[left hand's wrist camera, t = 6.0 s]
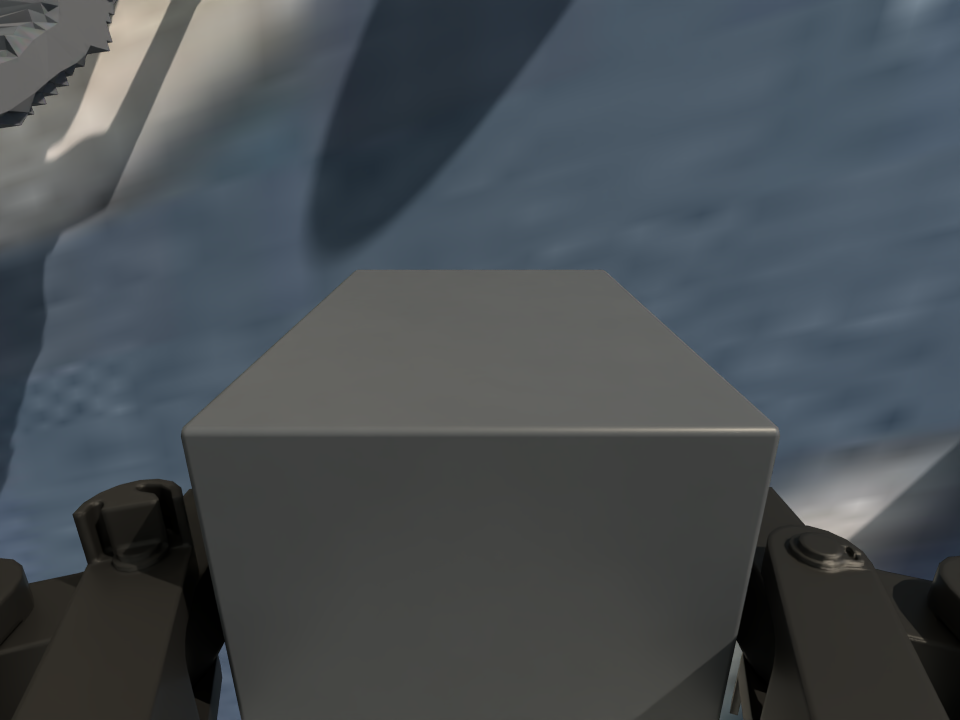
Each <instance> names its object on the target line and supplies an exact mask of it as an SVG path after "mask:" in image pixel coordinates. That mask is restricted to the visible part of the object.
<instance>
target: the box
mask: <svg viewBox="0 0 960 720" xmlns="http://www.w3.org/2000/svg"><path fill="white" fill-rule="evenodd" d="M779 438H780V434H779V429H778V427H777V426H776V425H775V424H774V423H773V422H771V421H770V420H769V419H768V418H767V417H766V416H765V415H764V414H763V413H761V412H760V411H759V410H758V409H757V408H756V407H755V406H754V405H753V404H752V403H750V402H749V401H748V400H747V399H746V398H745V397H744V396H743V395H742V394H740V393H739V392H738V391H737V390H736V389H735V388H734V387H733V386H732V385H731V384H729V383H728V382H727V381H726V380H725V379H724V378H723V377H722V376H721V375H719V374H718V373H717V372H716V371H715V370H714V369H713V368H712V367H711V366H710V365H708V364H707V363H706V362H705V361H704V360H703V359H702V358H701V357H700V356H698V355H697V354H696V353H695V352H694V351H693V350H692V349H691V348H690V347H689V346H687V345H686V344H685V343H684V342H683V341H682V340H681V339H680V338H679V337H677V336H676V335H675V334H674V333H673V332H672V331H671V330H670V329H669V328H668V327H666V326H665V325H664V324H663V323H662V322H661V321H660V320H659V319H658V318H657V317H655V316H654V315H653V314H652V313H651V312H650V311H649V310H648V309H647V308H645V307H644V306H643V305H642V304H641V303H640V302H639V301H638V300H637V299H636V298H634V297H633V296H632V295H631V294H630V293H629V292H628V291H627V290H626V289H624V288H623V287H622V286H621V285H620V284H619V283H618V282H617V281H616V280H615V279H613V278H612V277H611V276H610V275H609V274H608V273H607V272H606V271H604V270H356V271H355V272H353V273H352V274H351V275H350V276H349V277H348V278H347V279H346V280H345V281H344V282H342V283H341V284H340V285H339V286H338V287H337V288H336V289H335V290H334V291H333V292H331V293H330V294H329V295H328V296H327V297H326V298H325V299H324V300H323V301H322V302H320V303H319V304H318V305H317V306H316V307H315V308H314V309H313V310H312V311H311V312H309V313H308V314H307V315H306V316H305V317H304V318H303V319H302V320H301V321H300V322H298V323H297V324H296V325H295V326H294V327H293V328H292V329H291V330H290V331H289V332H287V333H286V334H285V335H284V336H283V337H282V338H281V339H280V340H279V341H277V342H276V343H275V344H274V345H273V346H272V347H271V348H270V349H269V350H268V351H266V352H265V353H264V354H263V355H262V356H261V357H260V358H259V359H258V360H257V361H255V362H254V363H253V364H252V365H251V366H250V367H249V368H248V369H247V370H246V371H244V372H243V373H242V374H241V375H240V376H239V377H238V378H237V379H236V380H235V381H233V382H232V383H231V384H230V385H229V386H228V387H227V388H226V389H225V390H224V391H222V392H221V393H220V394H219V395H218V396H217V397H216V398H215V399H214V400H213V401H211V402H210V403H209V404H208V405H207V406H206V407H205V408H204V409H203V410H202V411H200V412H199V413H198V414H197V415H196V416H195V417H194V418H193V419H192V420H191V421H189V422H188V423H187V424H186V425H185V426H184V427H183V429H182V433H181V439H182V444H183V448H184V453H185V458H186V462H187V467H188V472H189V476H190V481H191V486H192V490H193V495H194V500H195V504H196V509H197V514H198V518H199V523H200V528H201V533H202V537H203V542H204V547H205V551H206V556H207V561H208V565H209V570H210V575H211V579H212V584H213V589H214V593H215V598H216V603H217V607H218V612H219V617H220V621H221V626H222V631H223V636H224V640H225V645H226V650H227V654H228V659H229V664H230V668H231V673H232V678H233V682H234V687H235V692H236V696H237V701H238V706H239V710H240V715H241V720H719V718H720V713H721V709H722V704H723V699H724V695H725V690H726V685H727V681H728V676H729V671H730V667H731V662H732V657H733V653H734V648H735V643H736V639H737V634H738V629H739V625H740V620H741V615H742V611H743V606H744V601H745V597H746V592H747V587H748V583H749V578H750V573H751V569H752V564H753V559H754V555H755V550H756V545H757V541H758V536H759V531H760V527H761V522H762V517H763V513H764V508H765V503H766V499H767V494H768V489H769V485H770V480H771V475H772V471H773V466H774V461H775V457H776V452H777V447H778V443H779Z"/></svg>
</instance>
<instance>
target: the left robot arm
mask: <svg viewBox="0 0 960 720" xmlns="http://www.w3.org/2000/svg"><path fill="white" fill-rule="evenodd" d="M73 518H74V521H75V524H76V527H77V531H78V534H79V537H80V540H81V544H82V547H83V550H84V553H85V557H86V560H87V563H88V565H87V567H86V569H85V571H84V572H81V573H77V574H72V575H67V576H62V577H58V578H53V579H48V580H43V581H38V582H34V583H28V581H27V578H26V575H25V572H24V570H23V567H22V565H20V564H19V563H18V562H16V561H15V560H13V559H3V558H0V720H217V714H218V706H219V699H220V691H221V683H222V672H221V665H220V661H219V656H218V653H219V652H220V650H221V648H222V646H223V644H224V642H225V640H224V636H223V631H222V626H221V621H220V617H219V612H218V607H217V603H216V598H215V593H214V589H213V584H212V579H211V575H210V570H209V565H208V561H207V556H206V551H205V547H204V542H203V537H202V533H201V528H200V523H199V518H198V514H197V509H196V504H195V500H194V495H193V490H192V489H189V490H188V491H187V492H186V494H185V495H184V496H183V494H182V489H181V487H180V486H178V485H177V484H176V483H174V482H173V481H167V480H162V479H150V480H138V481H134V482H130V483H126V484H121V485H118V486H116V487H113V488H111V489H108V490H106V491H103V492H101V493H99V494H97V495H96V496H94V497H92V498H91V499H89V500H88V501H86V502H84V503H83V504H82V505H81V506H80V507H79V508H78V509H77V510H76V511H75V512H74V513H73ZM736 640H737V642H738V644H739V646H740V648H741V650H742V656H741V661H740V665H739V670H738V674H737V679H736V683H735V688H734V692H733V697H732V702H731V709H730V713H731V714H735V715H738V712H739V707H740V703H741V705H742V713H743V720H960V556H954V557H948V558H946V559H945V560H943V561H942V562H940V563H939V566H938V568H937V571H936V574H935V577H934V579H933V581H929V580H924V579H920V578H915V577H910V576H905V575H900V574H895V573H891V572H886V571H882V570H878V569H875V568H874V566H873V564H872V563H871V561H870V560H869V559H868V558H867V556H866V555H865V554H864V553H863V551H861V550H860V549H859V548H857V547H856V546H855V545H853V544H852V543H850V542H849V541H848V540H846V539H844V538H842V537H839V536H837V535H835V534H833V533H831V532H829V531H826V530H822V529H818V528H815V527H811V526H805V525H804V523H803V522H802V521H801V520H800V519H799V518H798V517H797V516H796V514H795V513H794V512H793V511H792V510H791V509H790V508H789V506H788V505H787V504H786V503H785V502H784V501H783V500H782V499H781V497H780V496H779V495H778V494H777V493H776V492H775V491H774V489H773V488H772V487H769V489H768V494H767V499H766V503H765V508H764V513H763V517H762V522H761V527H760V531H759V536H758V541H757V545H756V550H755V555H754V559H753V564H752V569H751V573H750V578H749V583H748V587H747V592H746V597H745V601H744V606H743V611H742V615H741V620H740V625H739V629H738V634H737V639H736Z"/></svg>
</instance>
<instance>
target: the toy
mask: <svg viewBox="0 0 960 720" xmlns="http://www.w3.org/2000/svg"><path fill="white" fill-rule="evenodd" d="M115 2H116V0H0V128H5V127H12V126H19V125H22V123H23V121H24V120H25V118H26V116H27V115H33V114H34V112H33V109H32V107H31V106H37V105H44V104H46V101H45V98H44V96H51V95H58V93H57V90H56V87H61V86H69V84H68V81H67V78H66V76H72V75H73V72H74V69H75V68H76V67H83V66H84V65H85V58H86V55H87V54H91V53H98V52H106V51H110V50H109V46H108V43H110V42H112V39H111V36H110V33H109V29H108V26H107V24H109V23H112V22H111V19H110V16H109V15H114V4H115Z"/></svg>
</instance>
